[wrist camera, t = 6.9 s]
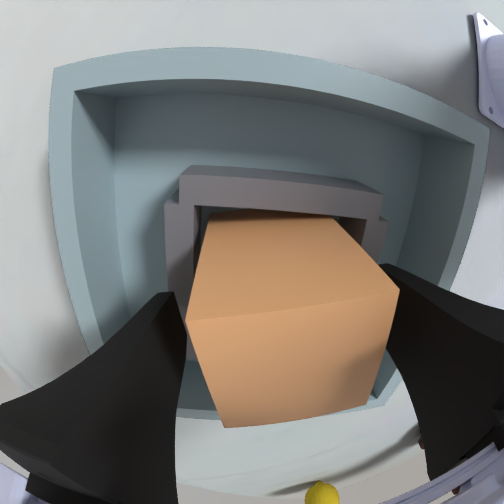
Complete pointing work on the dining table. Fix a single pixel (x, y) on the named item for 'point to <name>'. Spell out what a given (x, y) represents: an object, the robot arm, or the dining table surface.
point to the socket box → (246, 175)
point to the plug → (287, 316)
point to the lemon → (322, 494)
